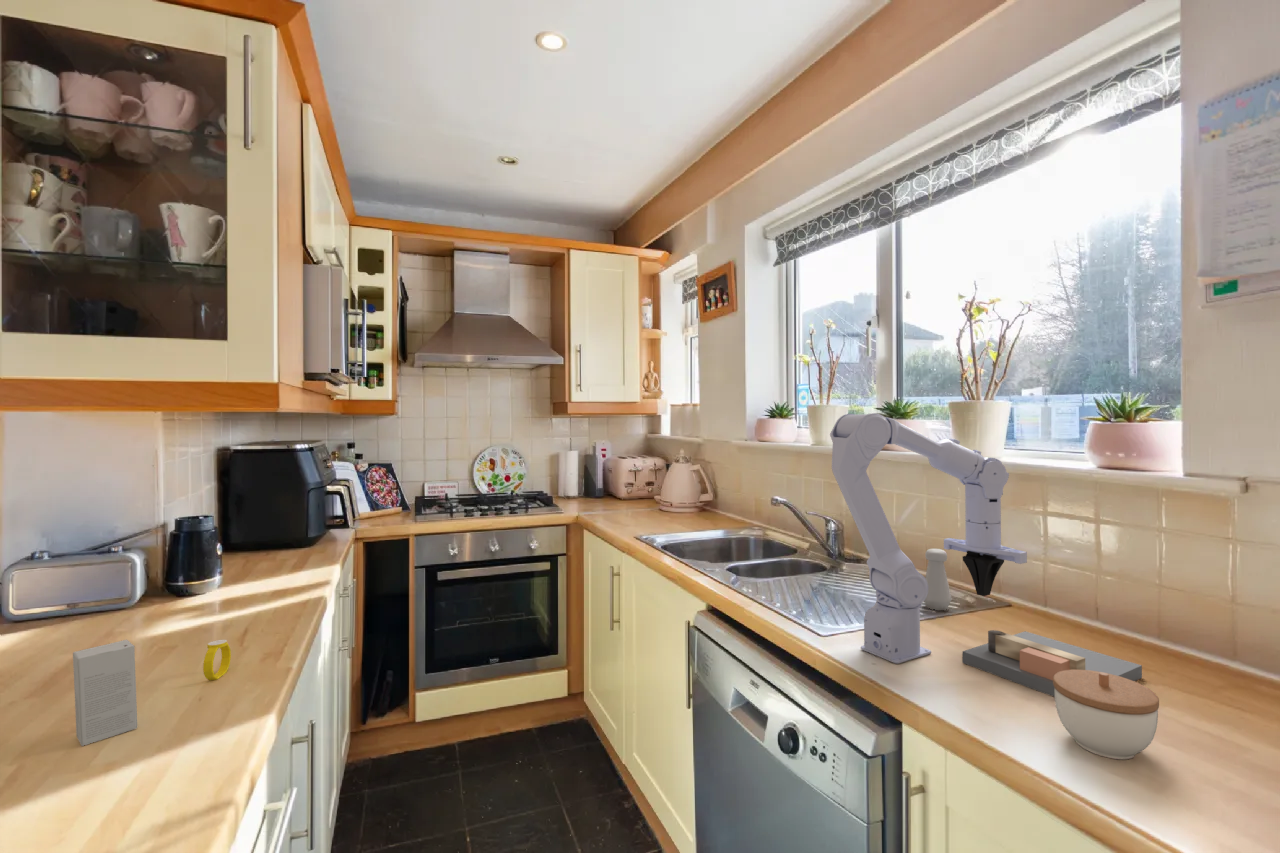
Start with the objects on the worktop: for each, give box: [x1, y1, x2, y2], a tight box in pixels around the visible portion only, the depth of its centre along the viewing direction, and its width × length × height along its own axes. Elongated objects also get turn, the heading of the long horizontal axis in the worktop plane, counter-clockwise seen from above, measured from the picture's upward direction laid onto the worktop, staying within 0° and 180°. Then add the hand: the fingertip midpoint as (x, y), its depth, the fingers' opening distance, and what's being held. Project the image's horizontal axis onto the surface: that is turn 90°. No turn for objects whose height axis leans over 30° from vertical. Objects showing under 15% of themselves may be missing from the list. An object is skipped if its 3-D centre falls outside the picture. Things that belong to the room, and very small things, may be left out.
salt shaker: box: [923, 548, 952, 611], centre depth 132 cm, size 6×6×13 cm
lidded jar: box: [1053, 670, 1160, 761], centre depth 77 cm, size 11×11×9 cm
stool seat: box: [961, 631, 1143, 698], centre depth 99 cm, size 19×18×5 cm
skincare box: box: [72, 639, 138, 747], centre depth 83 cm, size 6×4×12 cm
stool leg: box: [987, 629, 1085, 670], centre depth 97 cm, size 14×3×3 cm, turn 27°
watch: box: [202, 639, 232, 681], centre depth 102 cm, size 6×3×6 cm, turn 9°
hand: (983, 594), depth 111 cm, fingers closed
